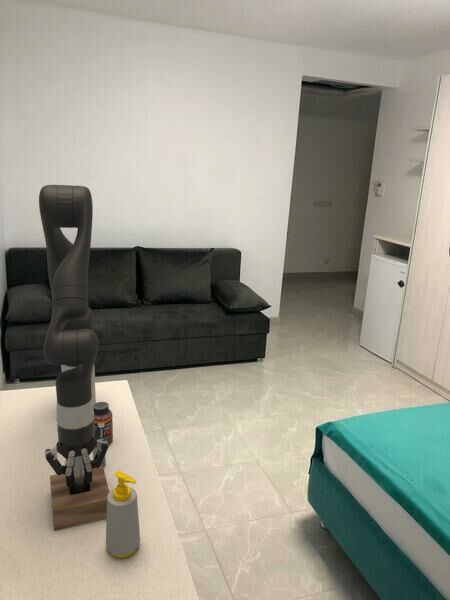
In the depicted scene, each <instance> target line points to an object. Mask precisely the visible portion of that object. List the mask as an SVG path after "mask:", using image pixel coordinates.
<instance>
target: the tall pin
mask: <svg viewBox="0 0 450 600" xmlns="http://www.w3.org/2000/svg"><path fill="white" fill-rule="evenodd" d="M72 475H73V495H74V494H79V493H84V492H87V486H86V466H85V463H84V459H83V456H82V455H80V456H74V461H73V467H72Z"/></svg>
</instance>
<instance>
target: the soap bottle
mask: <svg viewBox="0 0 450 600" xmlns="http://www.w3.org/2000/svg"><path fill="white" fill-rule="evenodd" d="M114 476H115V477H117V482H118V483H117V484H116V486H115V487H114V488H112V489H110V490H109V493H108V496H107V518H106V521H105V522H106V523H105V524H106V526H105V546H106V549H107V550H108V551H109V553H110V554H111V555H112V556H114V557H115V558H121V559H124V558H126V557H130V556H131V555H132V554H134V553H135V552H136V551H137V548H138V547H139V546H140V542H141V533H140V531H141V530H140V519H139V518H140V517H139V505H138V493H137V491H136V489H134V488H133V487H131V486H129V485H128V483H129V484H133V485H134V484H136V482H137V480H136V479H135V478H133V477H132V476H130V475H128V474H126V473H124V472H123V471H121V470H119V469H118V470H115V472H114Z"/></svg>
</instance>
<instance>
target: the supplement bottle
mask: <svg viewBox="0 0 450 600" xmlns="http://www.w3.org/2000/svg"><path fill="white" fill-rule="evenodd" d="M93 410H94V433H95V437H96V438H97V440H101V441H102V440H103V439H107V442H108V446H109V445H110V444H111V443H112V442H113V438H114V435H113V434H114V433H113V432H114V430H113V429H114V427H113V426H114V425H113V423H114V422H113V412H112V410H111V409H110V408H109V403H108V402H106V401H97V402H96V403H95V404H94V405H93Z"/></svg>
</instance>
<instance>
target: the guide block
mask: <svg viewBox="0 0 450 600" xmlns="http://www.w3.org/2000/svg"><path fill="white" fill-rule="evenodd" d="M49 481H50V483H49V484H50V494H51V507H52V509H51V510H52V521H53V531H58V530H63V529H66V528H71V527H74V526H80V525H83V524H89V523H93V522H97V521H100V520H101V521H102V520H105V519H107V496H108V493H109V492H110V490H109V486H108V485H109V484H108V481H107V477H106V473H105V469H104V467H103V465H101V466H100V467H99V468H94V469H93V470H92V482H90V485H87V492H84V493H79V494H74V495H73V489H70V487H67V485H66V476H65V475H64V474H62V475H57V474H56V473H55V474H50V475H49Z"/></svg>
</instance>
